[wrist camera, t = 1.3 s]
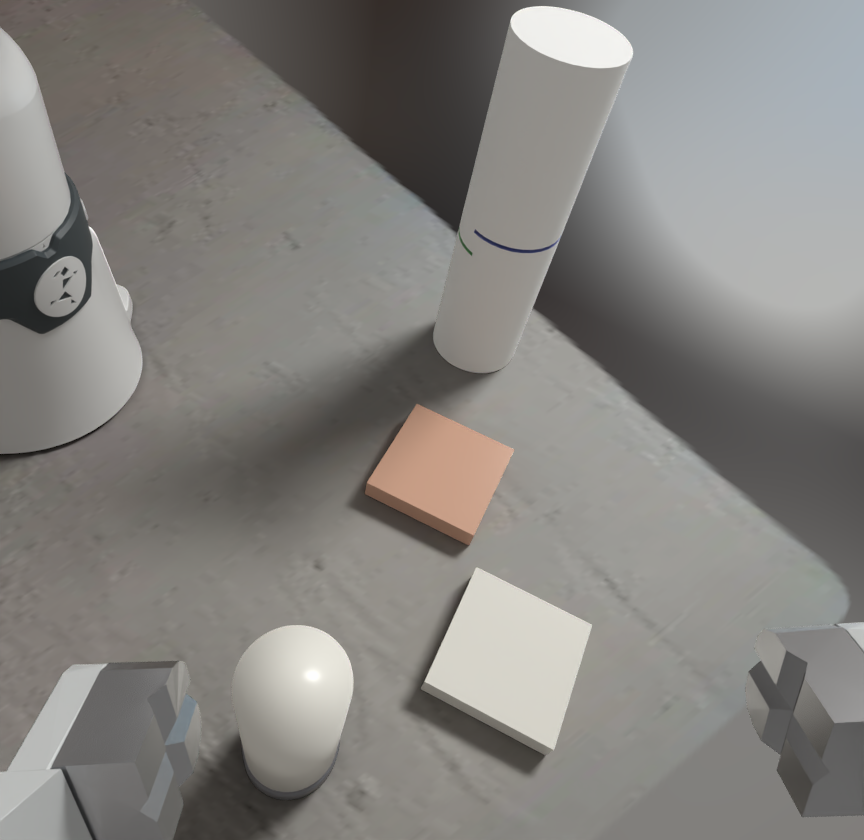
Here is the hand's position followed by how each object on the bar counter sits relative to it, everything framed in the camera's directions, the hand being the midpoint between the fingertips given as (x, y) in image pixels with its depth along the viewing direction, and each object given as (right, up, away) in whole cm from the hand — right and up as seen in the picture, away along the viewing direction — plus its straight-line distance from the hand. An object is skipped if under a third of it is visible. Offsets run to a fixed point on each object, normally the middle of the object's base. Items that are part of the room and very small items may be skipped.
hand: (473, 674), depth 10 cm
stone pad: (+4, -11, +32) cm, 34 cm away
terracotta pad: (0, 0, +39) cm, 39 cm away
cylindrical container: (+3, +10, +48) cm, 49 cm away
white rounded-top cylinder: (-8, -14, +27) cm, 31 cm away
